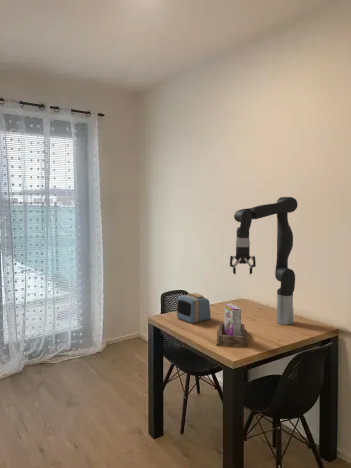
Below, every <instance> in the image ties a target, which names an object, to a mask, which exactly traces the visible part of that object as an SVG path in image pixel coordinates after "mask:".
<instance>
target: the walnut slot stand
mask: <svg viewBox="0 0 351 468" xmlns="http://www.w3.org/2000/svg"><path fill="white" fill-rule="evenodd" d="M216 329H217V330H216V347H217V346H218V347H219V346H220V347H240V348H241V347H243V348H248V347H249V340H248V335H247V333H248V332H247V329H246V327H245V323H241V336H231V335H226V334H225V333H224V323H223V322H219V323H218V328H216Z"/></svg>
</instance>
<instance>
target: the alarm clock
mask: <svg viewBox="0 0 351 468" xmlns="http://www.w3.org/2000/svg"><path fill="white" fill-rule="evenodd" d="M176 305H177V306H176V317H177V318H178V319H180V320H181V321H184V322H187V323H190V324H195V323H200V322H203V321H207V320H209V319H211V315H212V314H211V306H210V305H211V304H210V300H209V299H208V297H207V298H206V297H205V296H204V295H202V294H200V293H196V292H191V293H187V294H185V295H183V294H182V295H179V296H178V297H177V302H176Z"/></svg>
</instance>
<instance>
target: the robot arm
mask: <svg viewBox="0 0 351 468" xmlns="http://www.w3.org/2000/svg"><path fill="white" fill-rule="evenodd" d="M297 208H298V200H297V199H296V198H294V197H292V196H280V197H279V198H278V199H277V200H276V202H274V203H265V204H260V205H257V206H253V207H249V208H242V209H238V210H236V211H235V212H234V216H233V219H234V220H235V222H236V223H237V222H238V223H240V226H238V227H237V228H236V237H235V238H236V239H235V256H234V255H230V256H229V267H230V268H232V273H233V274H234V275H236V273H237V272H236V271H237V270H236V269H237V266H238V265H239V264H240V265H241V264H242V265H246V264H247V265H248V267H249V275H250V276H251V275H252V274H253V268H255V267H256V265H257V264H256V262H257V261H256V256H255V255H252V256H250V255H251V254H250V252H251V251H250V245H251V243H250V228H251V226H252V222H253V221H252V220H259V219H262V218H266V217H269V216H273V215H276V223H277V224H276V225H277V226H276V228H277V229H276V231H277V232H276V234H277V235H276V263H275V270H274V271H275V272H274V273H275V274H274V275H275V279H276V280H277V281H278V282H280V288H277V290H276V323H277V324H280V325H286V326H287V325H294V292H295V287H296V274H295V271H294V270H293V269H291V268H289V257H290V255H291V252H292V249H293V246H294V233H293V231H292V228H291V225H290V223H289V220H288V215H289V214H290V213H294V212H295V211H296V210H297ZM288 213H289V214H288ZM234 259H235V260H236V261H235V263H233V261H234ZM250 260H252V264H251V262H250Z"/></svg>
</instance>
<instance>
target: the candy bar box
mask: <svg viewBox="0 0 351 468" xmlns="http://www.w3.org/2000/svg"><path fill="white" fill-rule="evenodd" d="M223 306H224V309H223V312H224V315H223V317H224V321H223V322H224V333H225V334H226V335H231V336H241V324H242V309H241V308H240V307H239V306H237V305H236V304H234V303H224V305H223Z"/></svg>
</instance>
